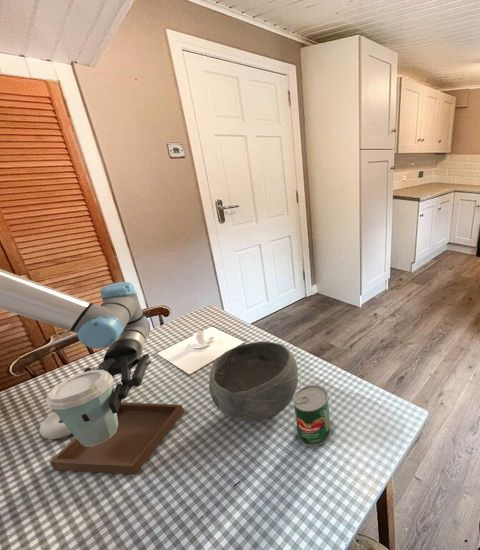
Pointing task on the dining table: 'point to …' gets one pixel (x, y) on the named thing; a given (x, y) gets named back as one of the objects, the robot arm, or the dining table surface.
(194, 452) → the dining table surface
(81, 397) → the disposable coffee cup
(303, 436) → the canned tomato
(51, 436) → the donut
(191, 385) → the dining table surface
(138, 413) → the tray
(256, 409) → the bowl
